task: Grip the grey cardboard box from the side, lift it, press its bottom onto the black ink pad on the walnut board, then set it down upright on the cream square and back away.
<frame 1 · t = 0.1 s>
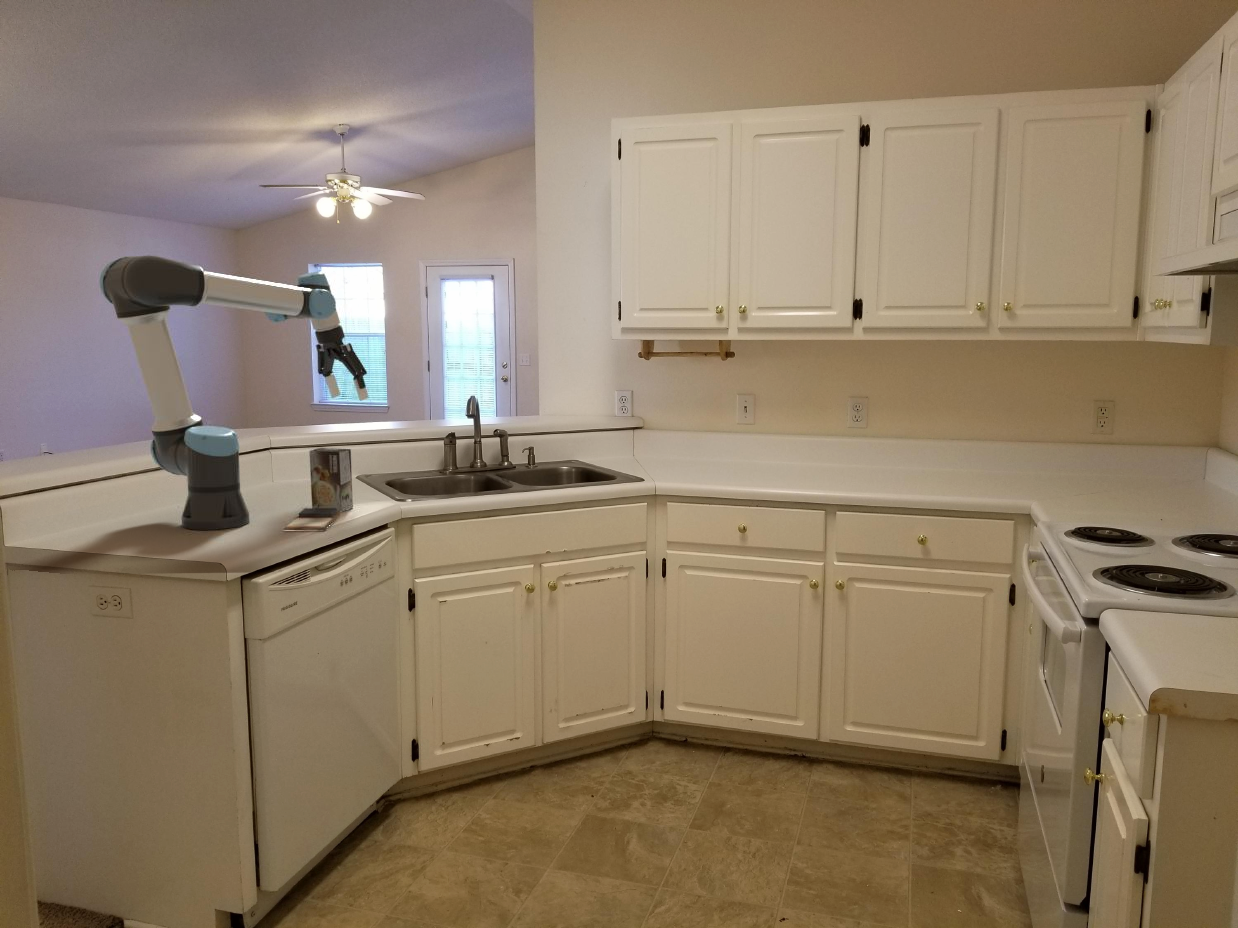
hand: (350, 397, 262), 28 cm above the countertop, tool tilted 20°, fingers open, 13 cm apart
stamp station: (313, 522, 222), on the countertop
grey cardboard box: (332, 509, 240), on the countertop
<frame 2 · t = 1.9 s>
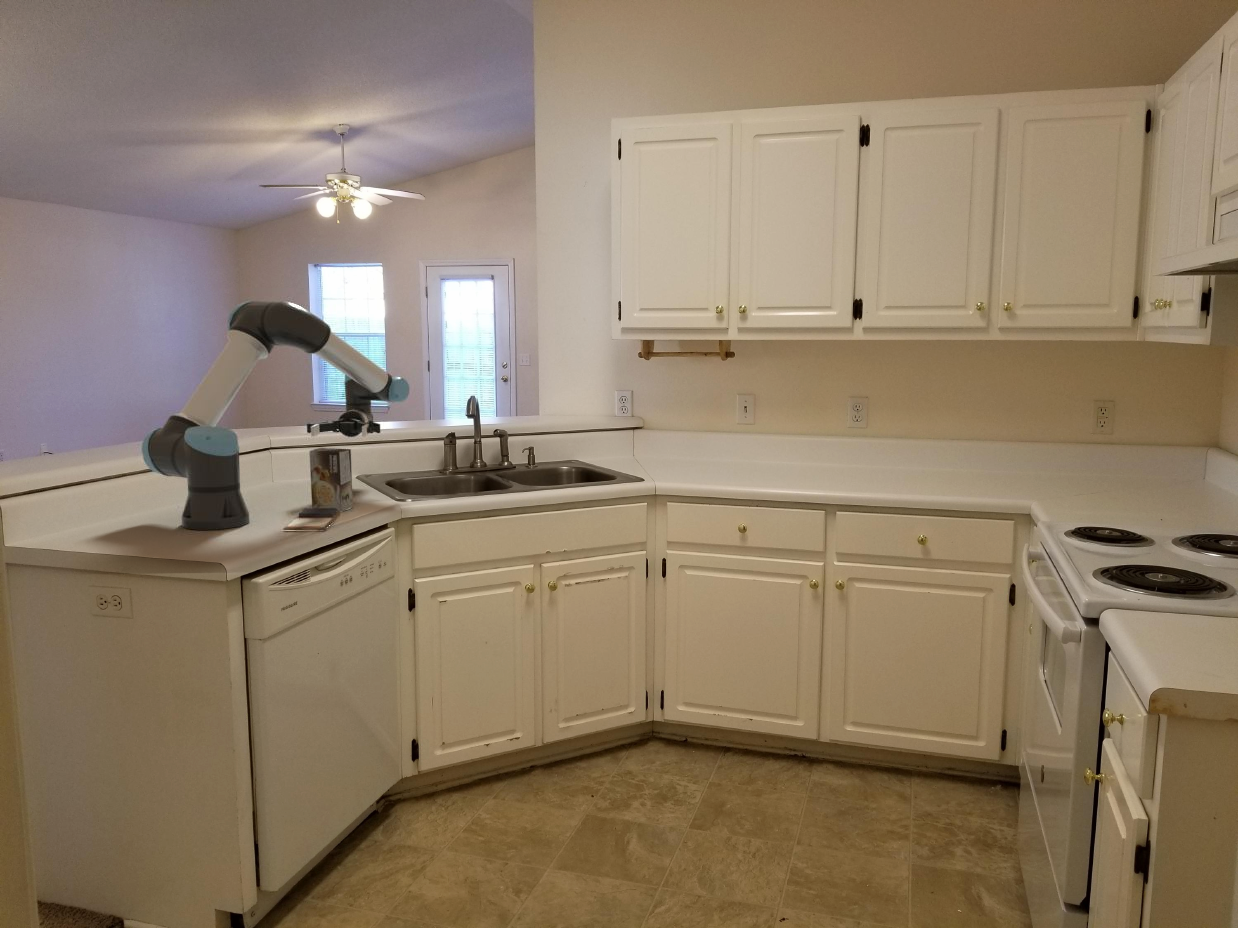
hand: (338, 431, 247), 20 cm above the countertop, tool horizontal, fingers open, 13 cm apart
nothing on the countertop moved.
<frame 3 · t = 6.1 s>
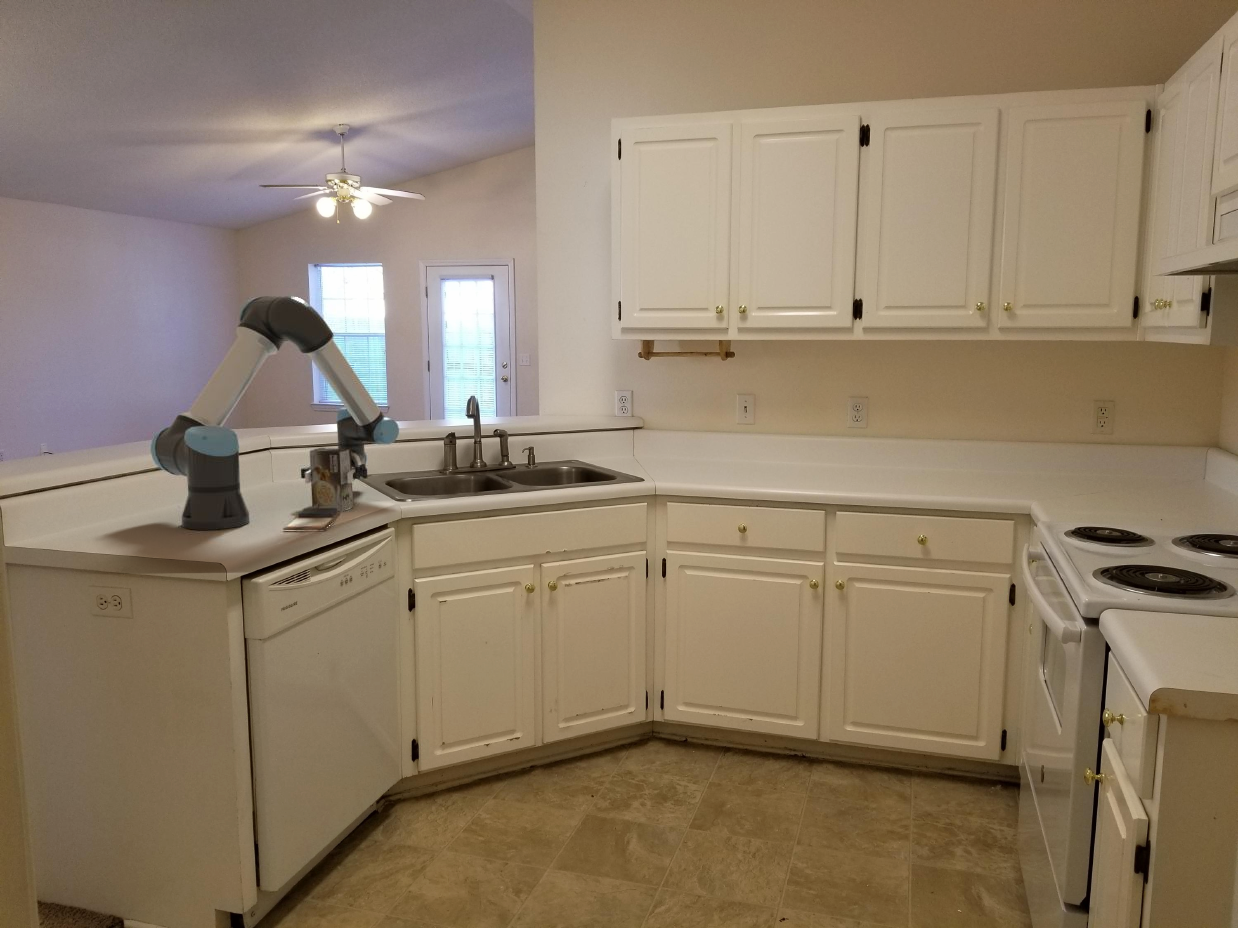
hand: (327, 478, 234), 9 cm above the countertop, tool horizontal, fingers closed on grey cardboard box, 10 cm apart
grey cardboard box: (332, 509, 240), on the countertop, touching gripper
when the fingers open (11 cm above the countertop, at t = 15.8 s): grey cardboard box stays where it is, resting on stamp station.
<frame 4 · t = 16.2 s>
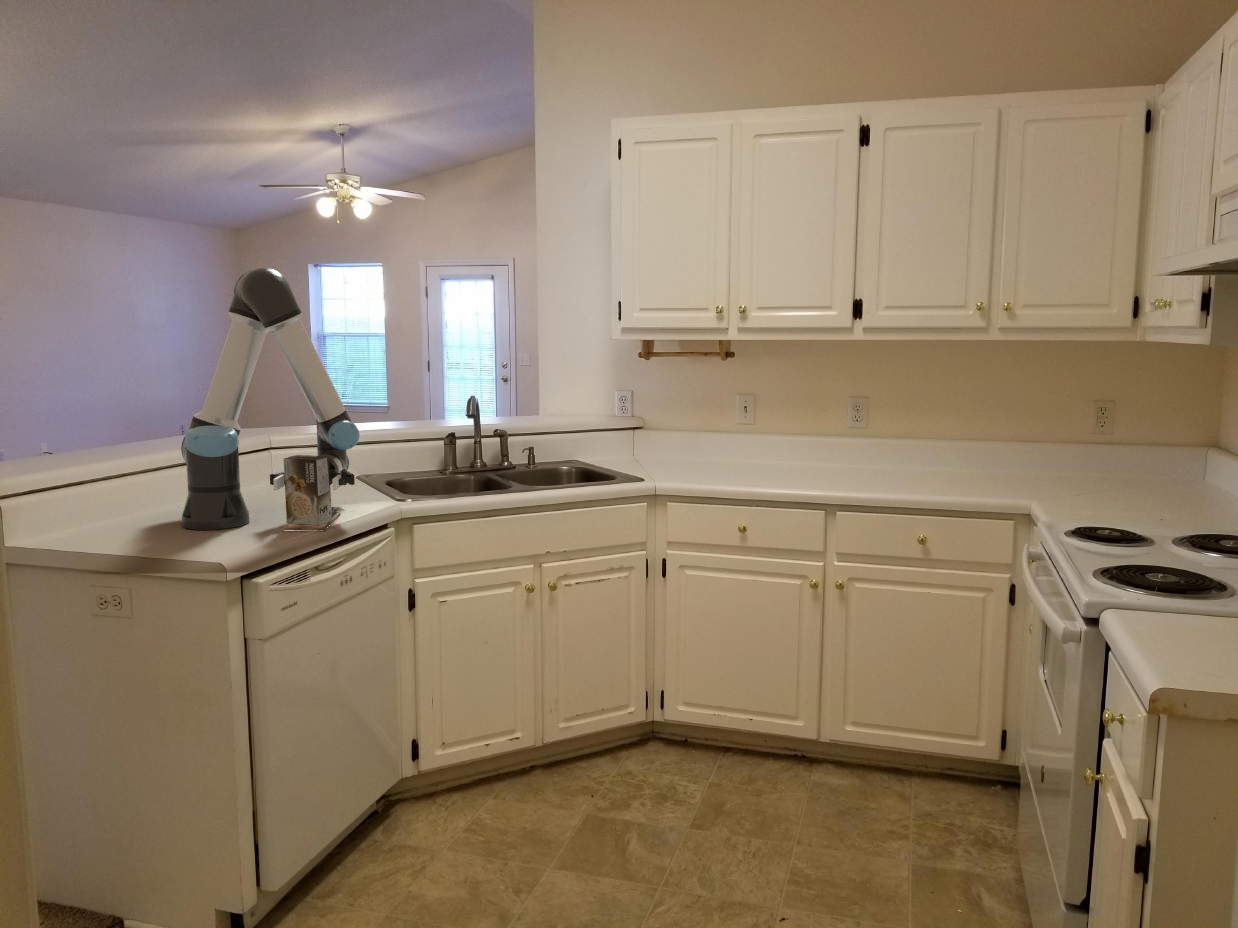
hand: (304, 484, 214), 11 cm above the countertop, tool horizontal, fingers open, 13 cm apart
grey cardboard box: (309, 522, 219), point 1 cm above the countertop, touching stamp station
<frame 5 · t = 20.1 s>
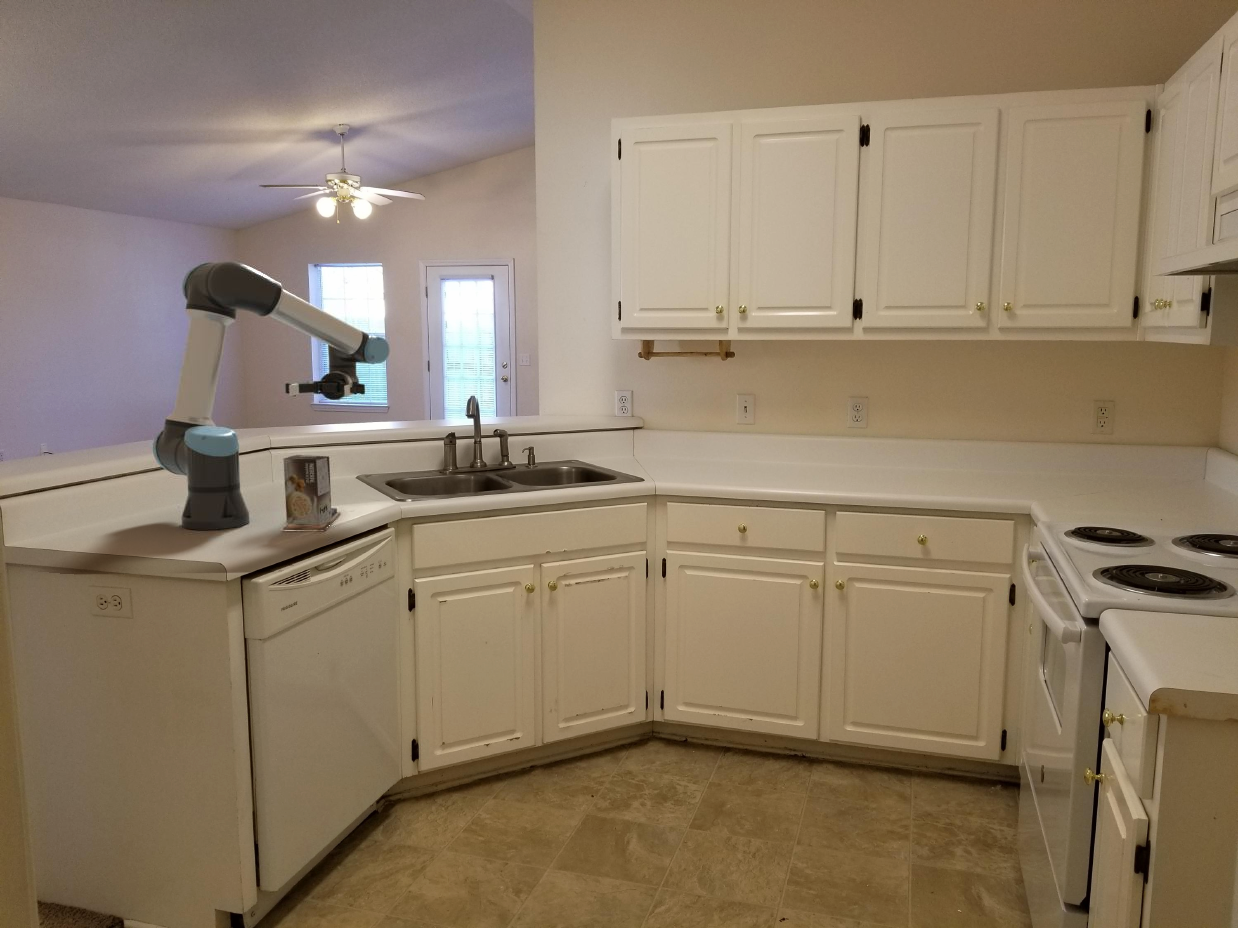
hand: (318, 390, 228), 32 cm above the countertop, tool horizontal, fingers open, 13 cm apart
nothing on the countertop moved.
at the end: grey cardboard box inside the target area (0.4 cm from its centre), point 0.8 cm above the countertop; grey cardboard box tilted 0°; the gripper is holding nothing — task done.
